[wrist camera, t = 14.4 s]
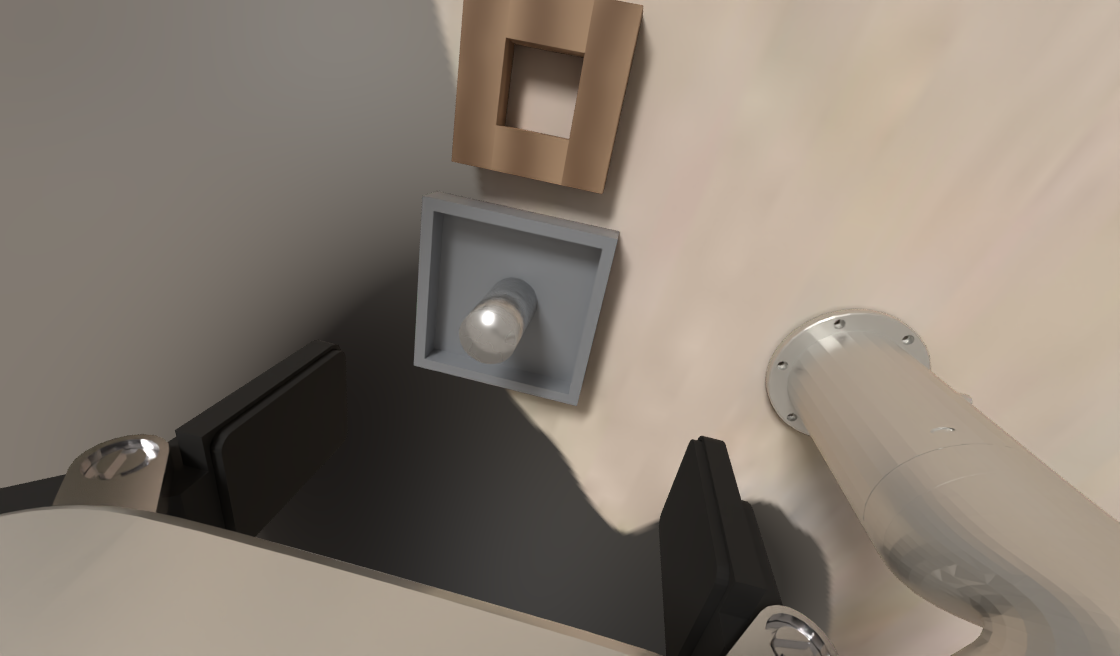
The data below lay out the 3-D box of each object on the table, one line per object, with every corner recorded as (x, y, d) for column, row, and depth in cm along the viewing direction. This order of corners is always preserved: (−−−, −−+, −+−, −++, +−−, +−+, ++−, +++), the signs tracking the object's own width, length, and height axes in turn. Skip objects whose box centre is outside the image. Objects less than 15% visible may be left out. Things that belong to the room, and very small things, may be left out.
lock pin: (540, 283, 39) (519, 318, 32) (533, 327, 41) (511, 369, 34) (492, 272, 39) (461, 305, 32) (487, 316, 41) (457, 357, 34)
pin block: (642, 14, 31) (643, 5, 29) (603, 189, 36) (601, 193, 34) (477, -17, 32) (465, -28, 29) (462, 159, 37) (451, 161, 34)
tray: (619, 231, 37) (617, 239, 34) (580, 389, 44) (576, 406, 41) (437, 191, 38) (422, 195, 35) (427, 351, 45) (413, 365, 42)
